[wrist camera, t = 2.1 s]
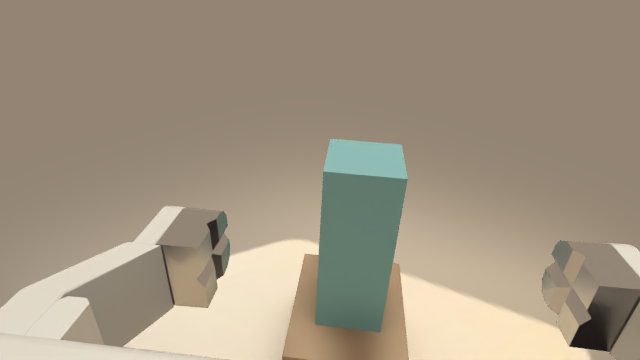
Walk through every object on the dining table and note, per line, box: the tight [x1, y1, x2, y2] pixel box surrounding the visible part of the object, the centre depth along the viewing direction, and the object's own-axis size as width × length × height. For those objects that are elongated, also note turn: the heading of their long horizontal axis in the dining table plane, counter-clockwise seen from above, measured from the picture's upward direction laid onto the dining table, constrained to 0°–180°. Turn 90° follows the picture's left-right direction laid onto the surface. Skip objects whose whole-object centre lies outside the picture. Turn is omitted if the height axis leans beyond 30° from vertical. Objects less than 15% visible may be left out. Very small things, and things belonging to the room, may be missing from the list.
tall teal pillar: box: [315, 139, 408, 332], centre depth 26 cm, size 4×4×12 cm
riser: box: [282, 254, 409, 360], centre depth 30 cm, size 8×10×6 cm
